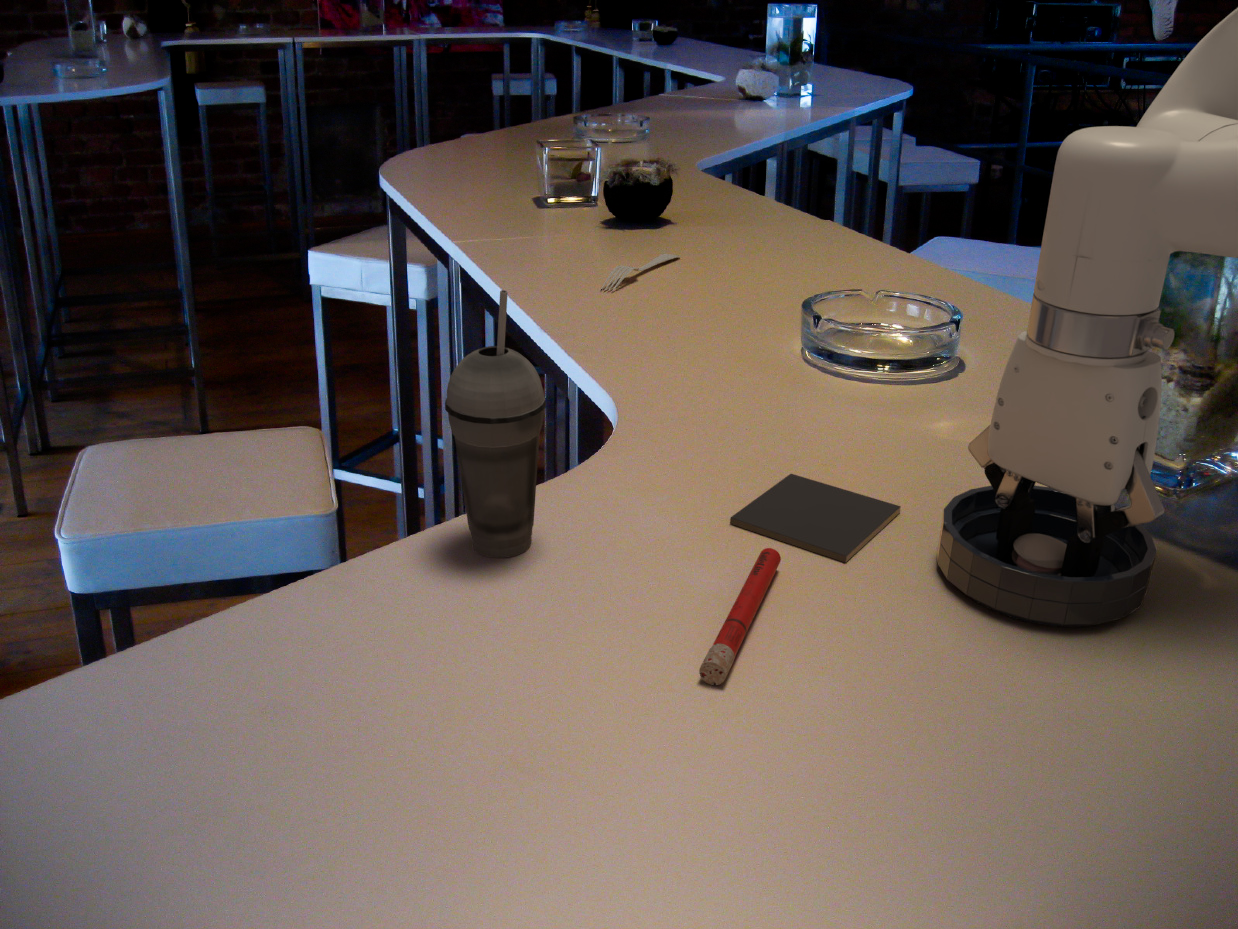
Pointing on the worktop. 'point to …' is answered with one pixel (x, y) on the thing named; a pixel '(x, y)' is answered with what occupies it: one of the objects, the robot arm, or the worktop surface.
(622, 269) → the fork
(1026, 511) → the robot arm
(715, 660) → the flare
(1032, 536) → the clam shell
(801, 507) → the coaster
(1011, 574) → the bowl
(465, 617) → the worktop surface
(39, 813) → the worktop surface
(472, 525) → the beverage cup
